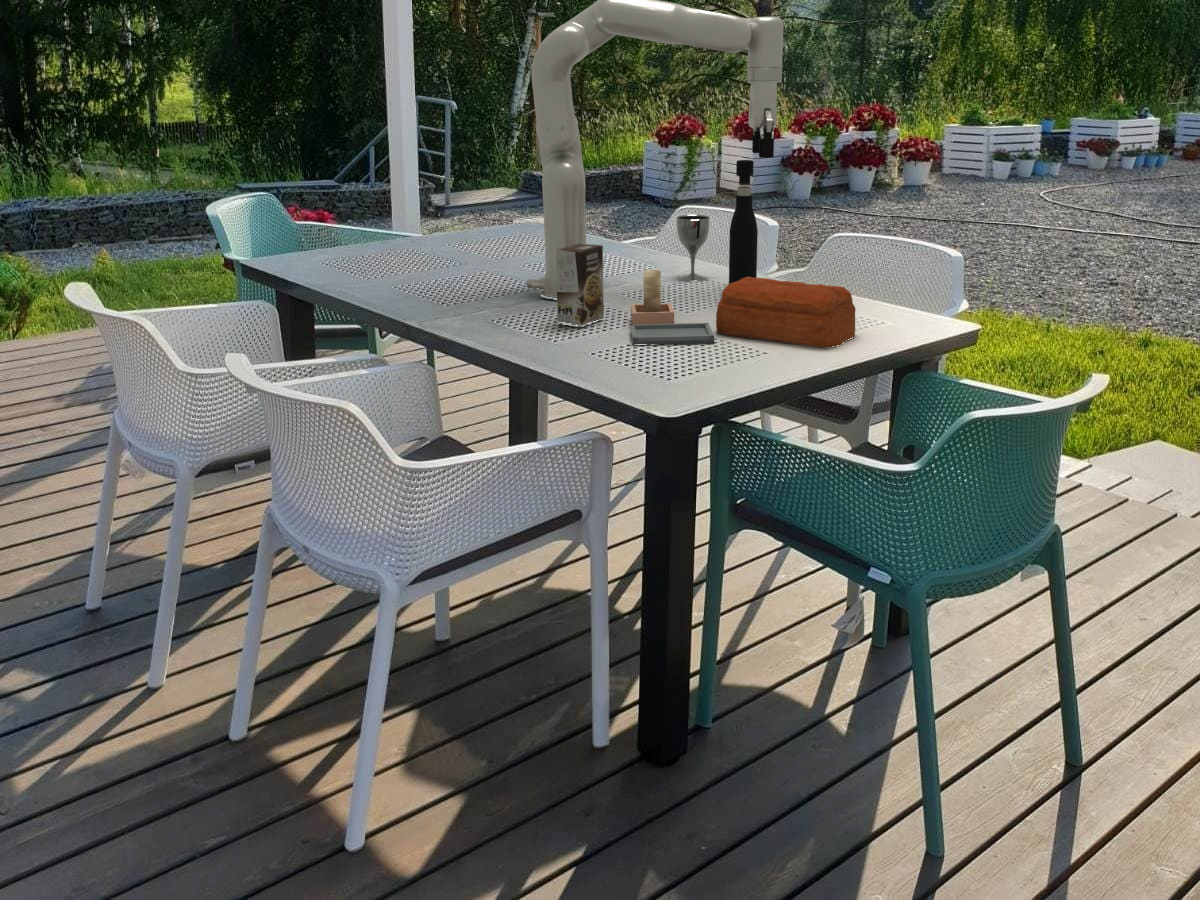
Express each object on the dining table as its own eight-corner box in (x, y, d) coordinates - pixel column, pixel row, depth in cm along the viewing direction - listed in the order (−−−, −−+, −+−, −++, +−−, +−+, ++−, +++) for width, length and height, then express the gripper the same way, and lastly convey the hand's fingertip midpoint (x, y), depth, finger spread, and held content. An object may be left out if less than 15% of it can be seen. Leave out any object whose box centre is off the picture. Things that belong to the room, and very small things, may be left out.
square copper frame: (633, 328, 256) (632, 313, 255) (630, 318, 265) (630, 304, 264) (674, 327, 257) (674, 312, 256) (670, 318, 265) (671, 303, 264)
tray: (633, 345, 243) (633, 337, 243) (630, 332, 253) (630, 324, 253) (714, 343, 243) (714, 335, 243) (708, 330, 254) (708, 322, 253)
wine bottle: (755, 295, 285) (758, 162, 275) (727, 294, 286) (729, 162, 276) (757, 289, 291) (760, 159, 281) (730, 288, 292) (732, 159, 282)
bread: (830, 352, 237) (832, 297, 233) (708, 335, 251) (708, 283, 247) (862, 335, 249) (864, 283, 245) (743, 319, 263) (744, 270, 260)
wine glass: (672, 280, 302) (672, 219, 297) (682, 274, 309) (682, 214, 304) (703, 282, 299) (703, 220, 294) (712, 276, 306) (713, 215, 301)
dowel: (644, 325, 259) (643, 273, 255) (643, 321, 262) (642, 270, 259) (661, 325, 259) (661, 273, 255) (660, 321, 262) (660, 269, 259)
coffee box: (582, 329, 257) (580, 251, 252) (556, 325, 260) (554, 249, 255) (605, 320, 264) (604, 244, 259) (580, 316, 268) (578, 242, 262)
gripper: (742, 74, 281) (740, 151, 286) (753, 78, 264) (751, 159, 270) (775, 73, 281) (773, 150, 286) (788, 77, 264) (785, 158, 270)
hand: (762, 155), depth 278 cm, fingers open, 9 cm apart
